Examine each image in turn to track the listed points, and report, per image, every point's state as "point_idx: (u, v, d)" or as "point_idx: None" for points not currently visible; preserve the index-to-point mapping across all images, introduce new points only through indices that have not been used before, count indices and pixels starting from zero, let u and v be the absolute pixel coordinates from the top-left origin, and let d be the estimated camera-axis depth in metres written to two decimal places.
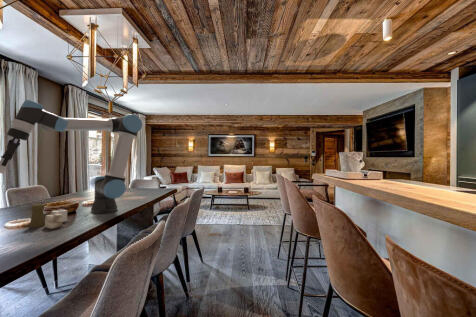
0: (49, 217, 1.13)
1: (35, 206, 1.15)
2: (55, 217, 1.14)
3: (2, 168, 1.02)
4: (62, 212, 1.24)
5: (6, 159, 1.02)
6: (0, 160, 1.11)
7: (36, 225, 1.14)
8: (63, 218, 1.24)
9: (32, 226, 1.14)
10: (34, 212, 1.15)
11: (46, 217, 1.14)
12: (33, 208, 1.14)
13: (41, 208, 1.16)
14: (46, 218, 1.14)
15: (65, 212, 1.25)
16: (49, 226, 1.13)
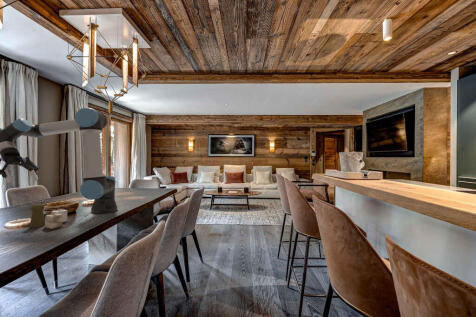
0: (49, 217, 1.13)
1: (35, 206, 1.15)
2: (55, 217, 1.14)
3: (7, 178, 1.16)
4: (62, 212, 1.24)
5: (1, 172, 1.17)
6: (31, 174, 1.28)
7: (36, 225, 1.14)
8: (63, 218, 1.24)
9: (32, 226, 1.14)
10: (34, 212, 1.15)
11: (46, 217, 1.14)
12: (33, 208, 1.14)
13: (41, 208, 1.16)
14: (46, 218, 1.14)
15: (65, 212, 1.25)
16: (49, 226, 1.13)
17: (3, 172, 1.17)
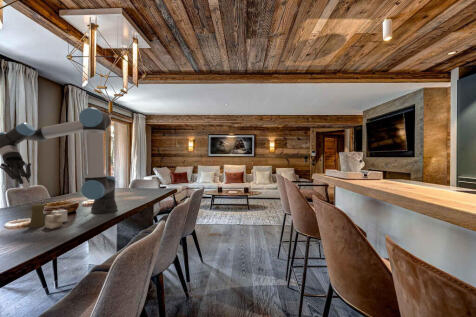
0: (49, 217, 1.13)
1: (35, 206, 1.15)
2: (55, 217, 1.14)
3: (24, 184, 1.19)
4: (62, 212, 1.24)
5: (17, 179, 1.20)
6: None
7: (36, 225, 1.14)
8: (63, 218, 1.24)
9: (32, 226, 1.14)
10: (34, 212, 1.15)
11: (46, 217, 1.14)
12: (33, 208, 1.14)
13: (41, 208, 1.16)
14: (46, 218, 1.14)
15: (65, 212, 1.25)
16: (49, 226, 1.13)
17: (20, 179, 1.20)
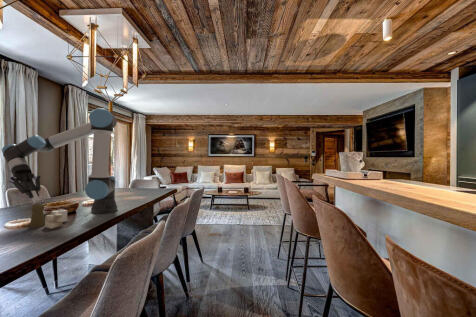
0: (49, 217, 1.13)
1: (35, 206, 1.15)
2: (55, 217, 1.14)
3: (33, 198, 1.16)
4: (62, 212, 1.24)
5: (27, 193, 1.17)
6: None
7: (36, 225, 1.14)
8: (63, 218, 1.24)
9: (32, 226, 1.14)
10: (34, 212, 1.15)
11: (46, 217, 1.14)
12: (33, 209, 1.14)
13: (41, 208, 1.16)
14: (46, 218, 1.14)
15: (65, 212, 1.25)
16: (49, 226, 1.13)
17: (29, 192, 1.17)
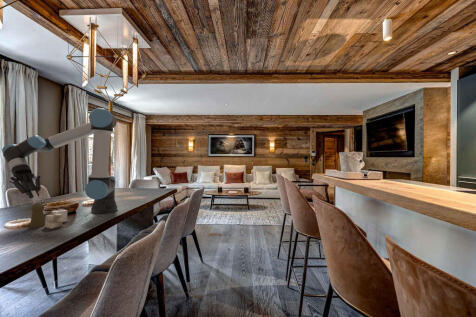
0: (49, 217, 1.13)
1: (35, 206, 1.15)
2: (55, 217, 1.14)
3: (33, 198, 1.16)
4: (62, 212, 1.24)
5: (27, 193, 1.17)
6: None
7: (36, 225, 1.14)
8: (63, 218, 1.24)
9: (32, 226, 1.14)
10: (34, 212, 1.15)
11: (46, 217, 1.14)
12: (33, 209, 1.14)
13: (41, 208, 1.16)
14: (46, 218, 1.14)
15: (65, 212, 1.25)
16: (49, 226, 1.13)
17: (29, 192, 1.17)
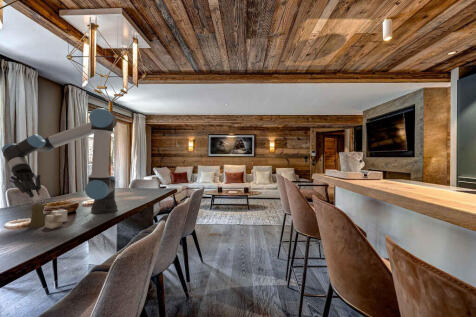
0: (49, 217, 1.13)
1: (35, 206, 1.15)
2: (55, 217, 1.14)
3: (34, 197, 1.17)
4: (62, 212, 1.24)
5: (28, 192, 1.17)
6: None
7: (36, 225, 1.14)
8: (63, 218, 1.24)
9: (32, 226, 1.14)
10: (34, 212, 1.15)
11: (46, 217, 1.14)
12: (33, 208, 1.14)
13: (41, 208, 1.16)
14: (46, 218, 1.14)
15: (65, 212, 1.25)
16: (49, 226, 1.13)
17: (30, 192, 1.17)
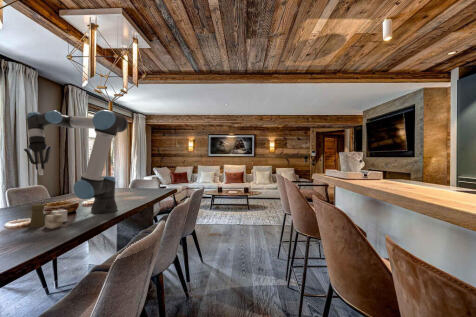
0: (49, 217, 1.13)
1: (35, 206, 1.15)
2: (55, 217, 1.14)
3: None
4: (62, 212, 1.24)
5: None
6: None
7: (36, 225, 1.14)
8: (63, 218, 1.24)
9: (32, 226, 1.14)
10: (34, 212, 1.15)
11: (46, 217, 1.14)
12: (33, 208, 1.14)
13: (41, 208, 1.16)
14: (46, 218, 1.14)
15: (65, 212, 1.25)
16: (49, 226, 1.13)
17: (36, 165, 1.36)
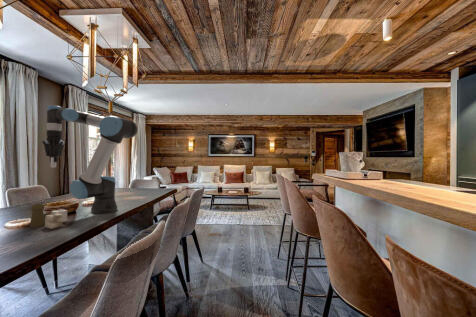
0: (49, 217, 1.13)
1: (35, 206, 1.15)
2: (55, 217, 1.14)
3: None
4: (62, 212, 1.24)
5: None
6: None
7: (36, 225, 1.14)
8: (63, 218, 1.24)
9: (32, 226, 1.14)
10: (34, 212, 1.15)
11: (46, 217, 1.14)
12: (33, 208, 1.14)
13: (41, 208, 1.16)
14: (46, 218, 1.14)
15: (65, 212, 1.25)
16: (49, 226, 1.13)
17: (50, 158, 1.45)
